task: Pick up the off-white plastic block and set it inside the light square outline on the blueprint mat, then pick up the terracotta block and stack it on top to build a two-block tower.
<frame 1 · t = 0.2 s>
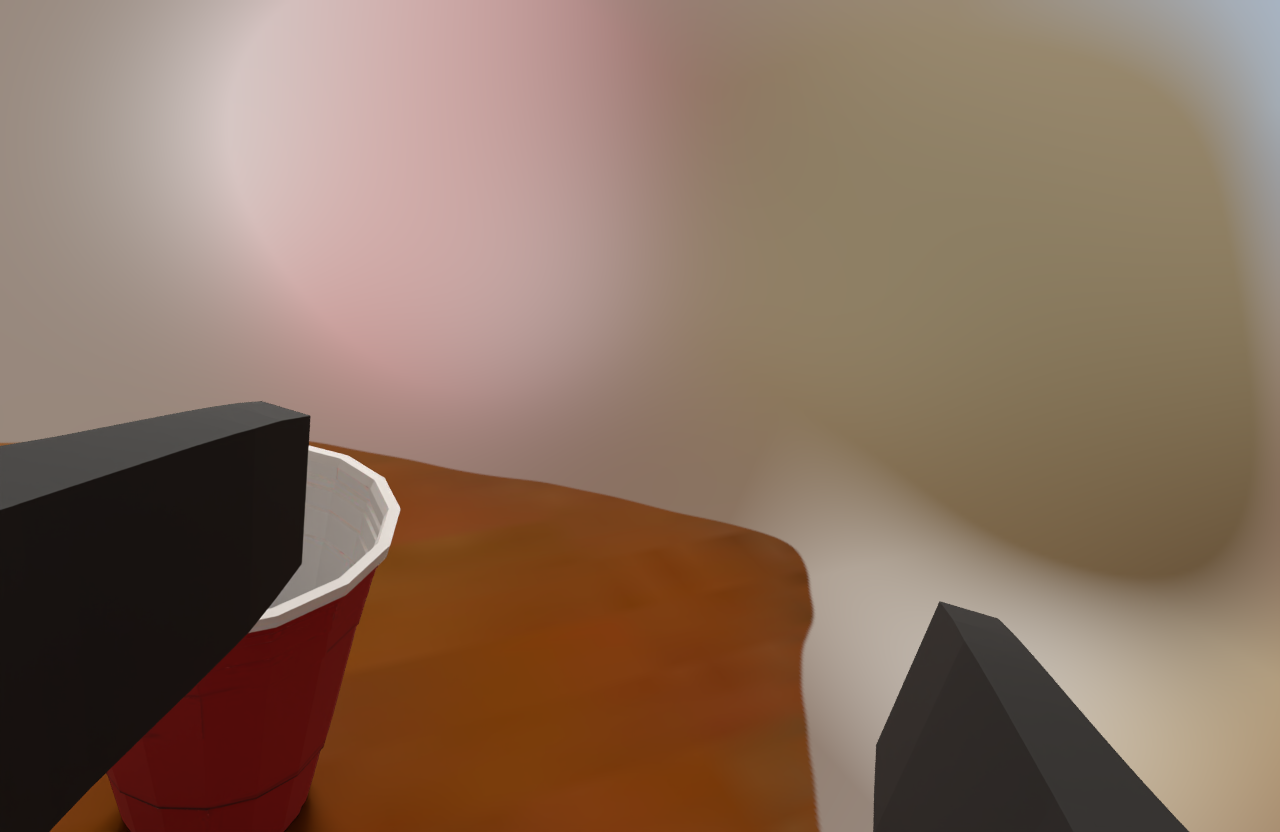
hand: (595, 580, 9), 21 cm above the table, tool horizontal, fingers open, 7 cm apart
plastic cup: (214, 802, 30), on the table
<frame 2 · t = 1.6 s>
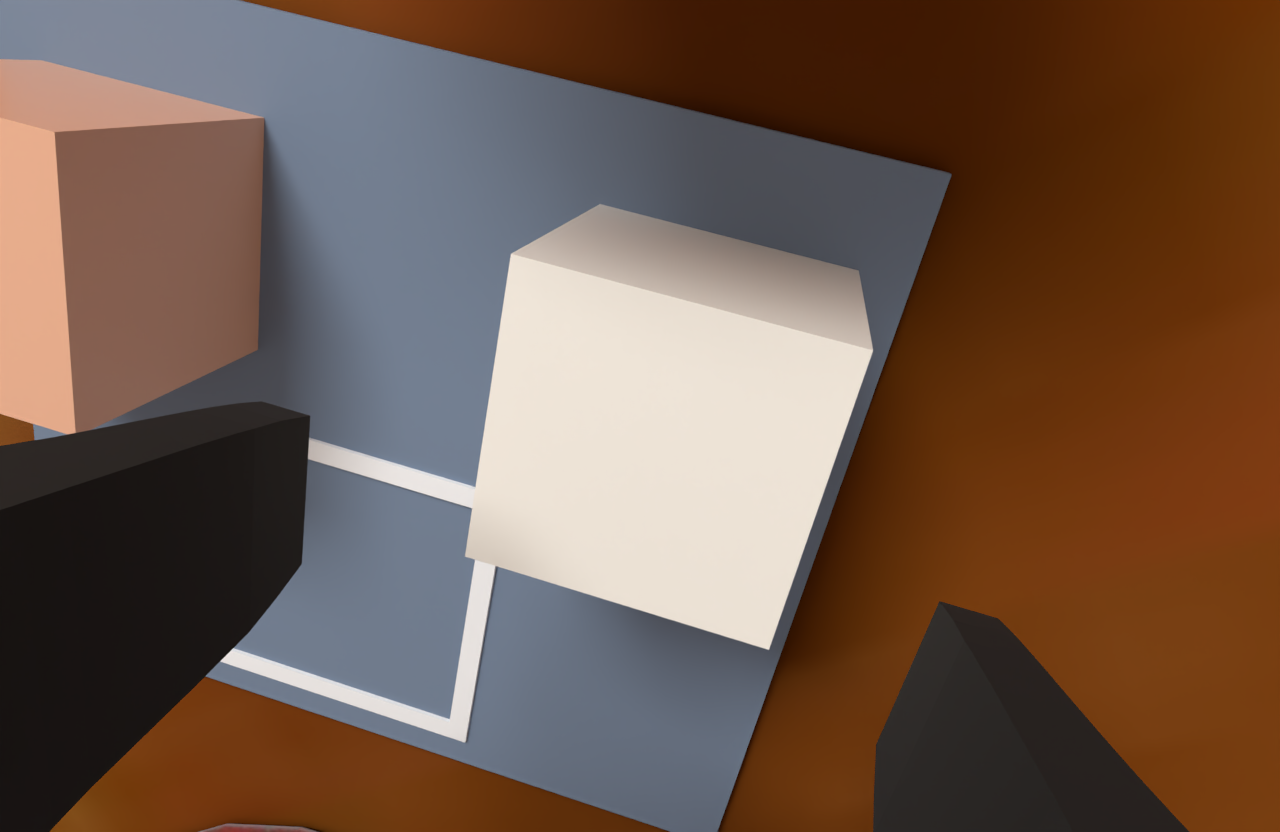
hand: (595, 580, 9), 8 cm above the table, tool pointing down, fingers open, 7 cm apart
offwhite block: (695, 359, 17), resting on blueprint mat
terracotta block: (154, 211, 18), resting on blueprint mat
blueprint mat: (403, 446, 19), on the table
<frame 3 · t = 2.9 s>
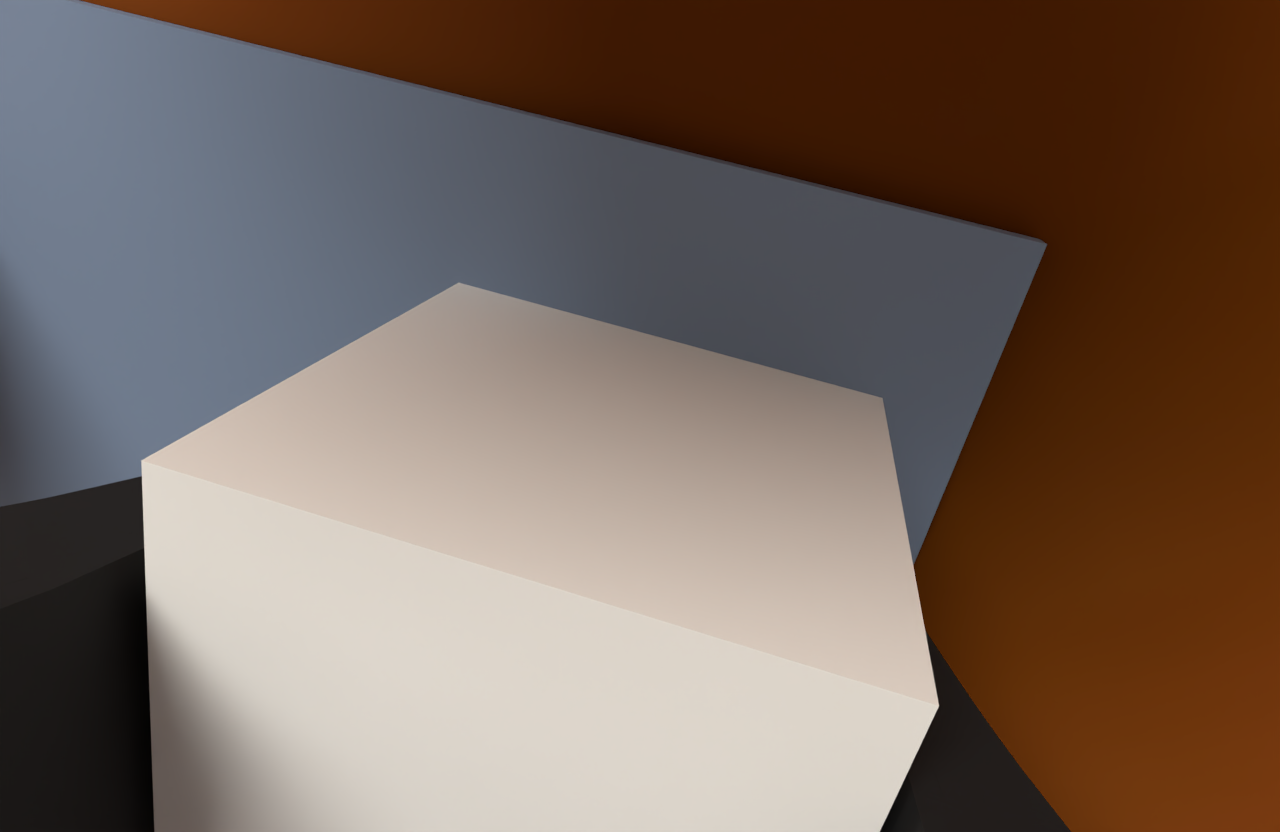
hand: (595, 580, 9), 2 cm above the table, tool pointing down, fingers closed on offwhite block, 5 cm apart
offwhite block: (620, 523, 11), resting on blueprint mat, touching gripper
blueprint mat: (204, 620, 13), on the table
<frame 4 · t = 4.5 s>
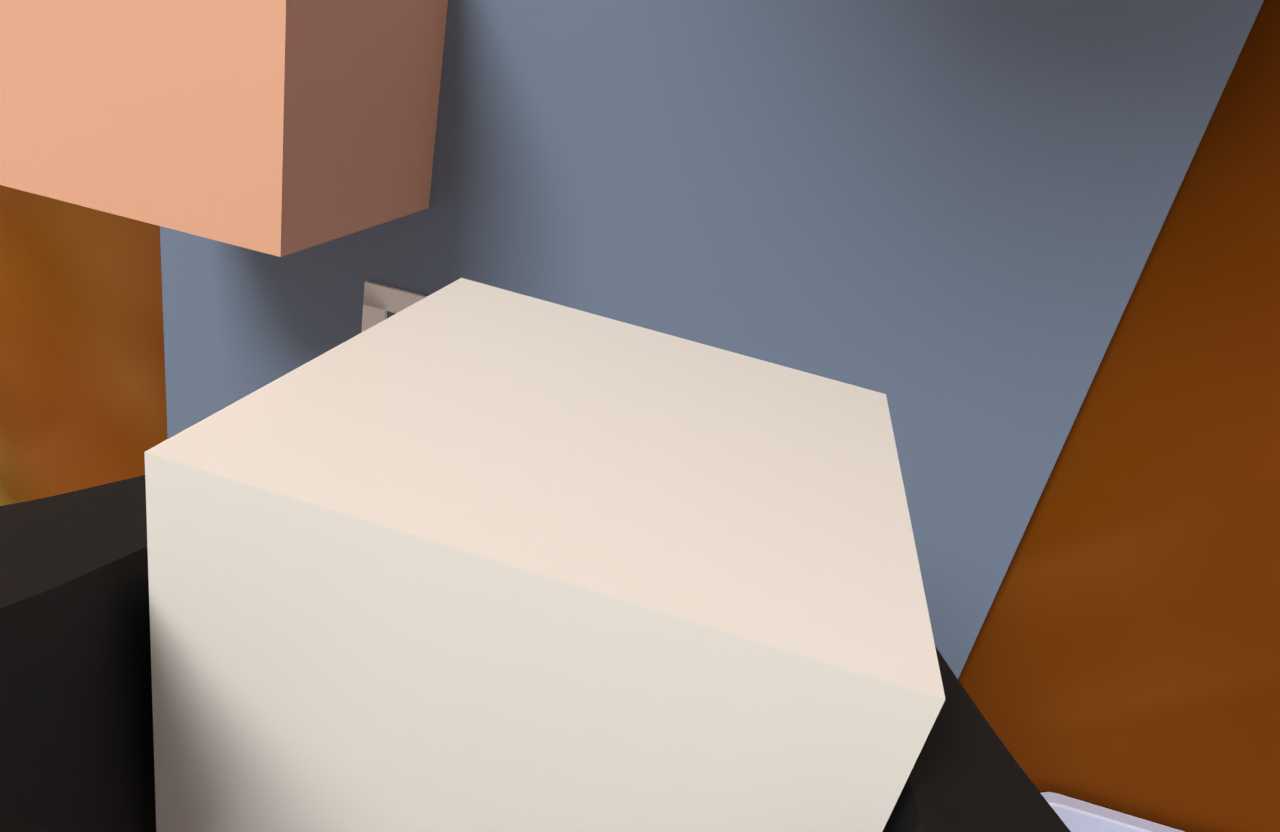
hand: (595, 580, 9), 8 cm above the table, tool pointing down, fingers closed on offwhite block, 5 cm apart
offwhite block: (623, 519, 11), point 7 cm above the table, touching gripper
terracotta block: (317, 46, 16), resting on blueprint mat
blueprint mat: (588, 318, 17), on the table
when the fingers open (2 cm above the table, at t = 6.5 s): offwhite block stays where it is, resting on blueprint mat.
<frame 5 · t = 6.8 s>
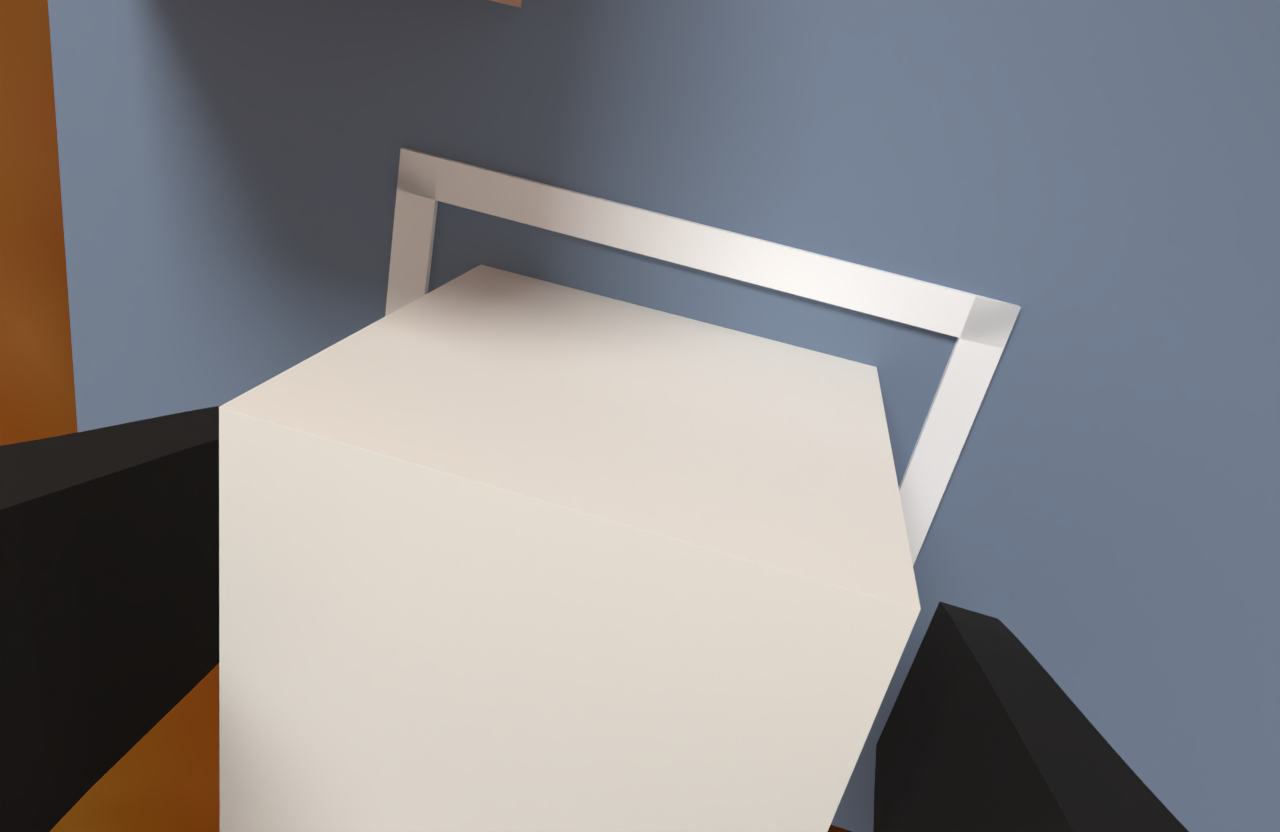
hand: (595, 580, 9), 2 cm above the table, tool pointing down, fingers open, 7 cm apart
offwhite block: (633, 490, 11), resting on blueprint mat
blueprint mat: (792, 215, 10), on the table
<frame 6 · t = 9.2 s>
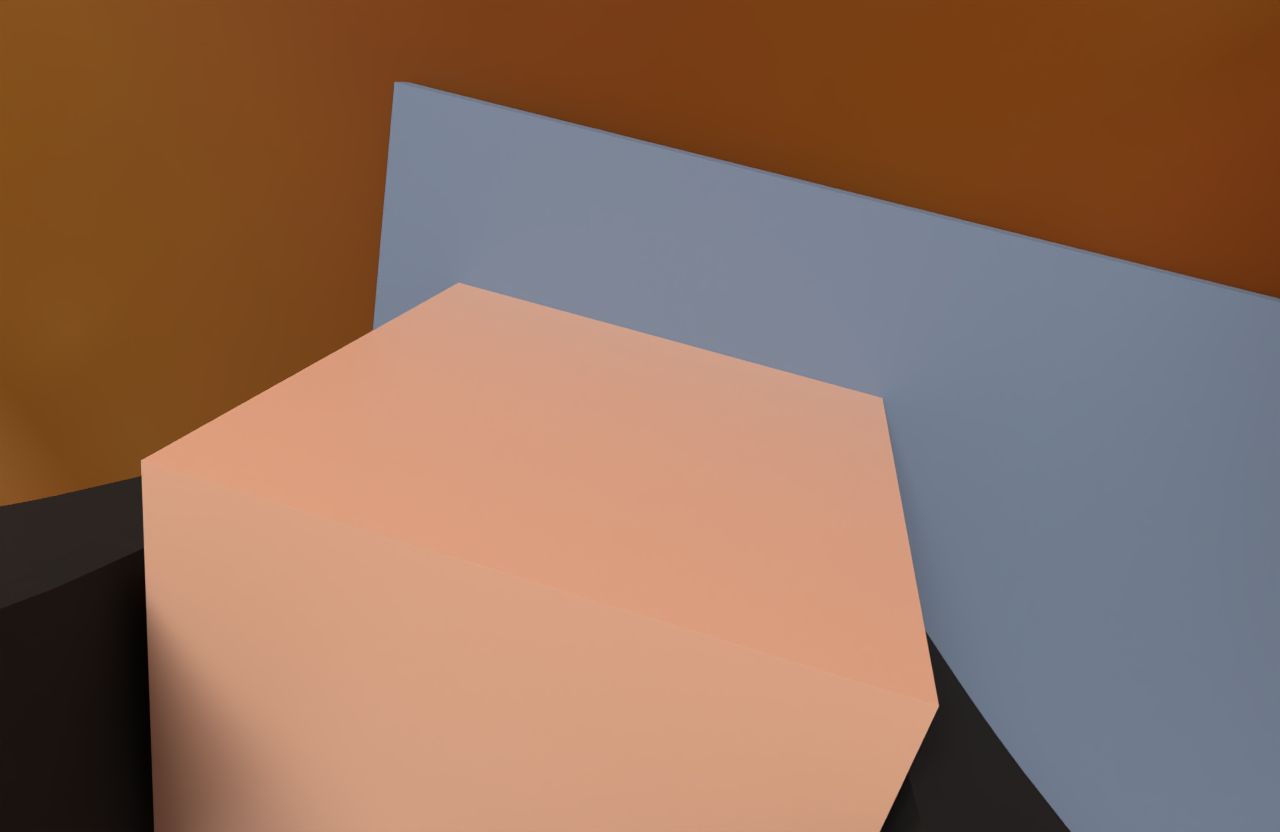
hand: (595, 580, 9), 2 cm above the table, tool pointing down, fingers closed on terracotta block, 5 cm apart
terracotta block: (620, 523, 11), resting on blueprint mat, touching gripper
when the fingers open (7 cm above the table, at t = 12.4 s): terracotta block stays where it is, resting on offwhite block.
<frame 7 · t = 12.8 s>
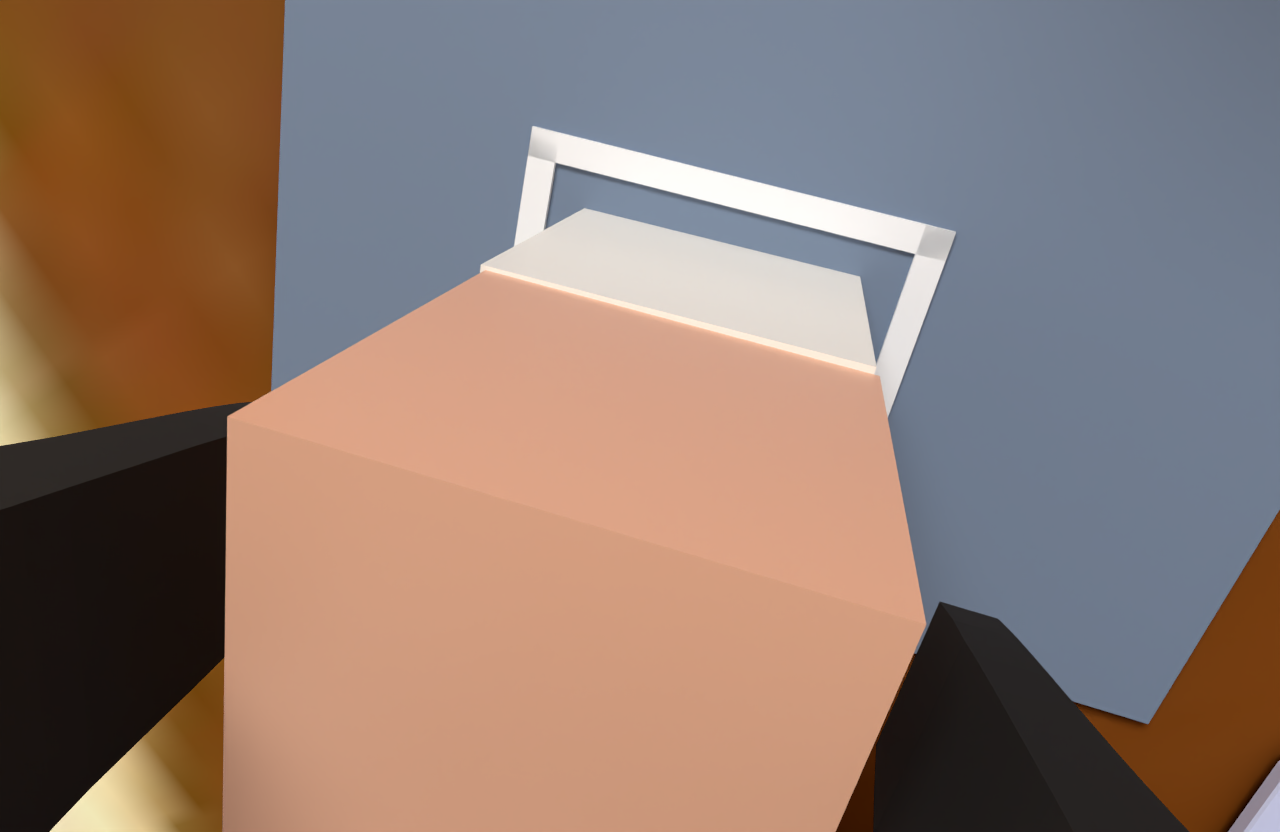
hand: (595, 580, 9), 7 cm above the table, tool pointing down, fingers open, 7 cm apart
offwhite block: (688, 371, 16), resting on blueprint mat, touching terracotta block
terracotta block: (635, 496, 11), point 5 cm above the table, touching offwhite block
blueprint mat: (802, 172, 14), on the table
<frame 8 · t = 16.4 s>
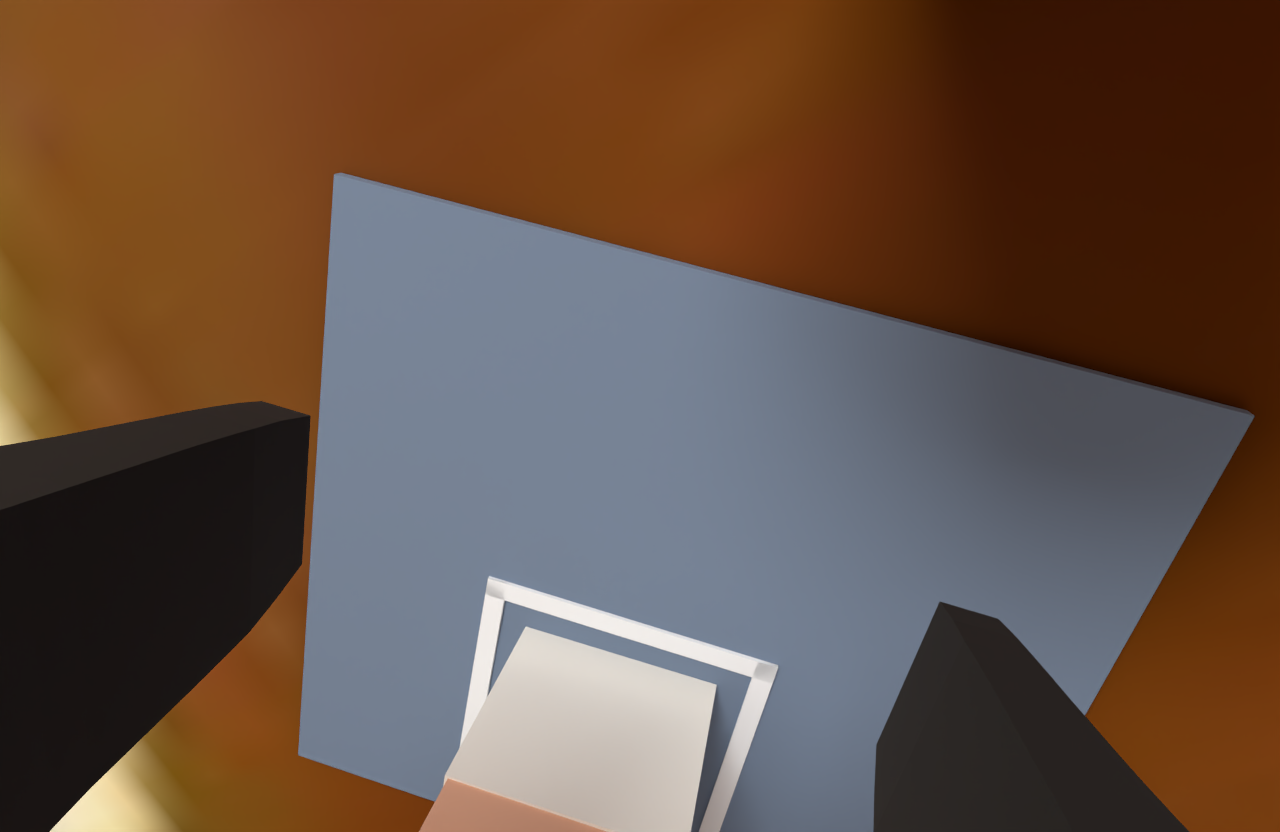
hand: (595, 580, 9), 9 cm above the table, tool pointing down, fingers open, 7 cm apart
offwhite block: (601, 729, 22), resting on blueprint mat, touching terracotta block
blueprint mat: (675, 614, 21), on the table
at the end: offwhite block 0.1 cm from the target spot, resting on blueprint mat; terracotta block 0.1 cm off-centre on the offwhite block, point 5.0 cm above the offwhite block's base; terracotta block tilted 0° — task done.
